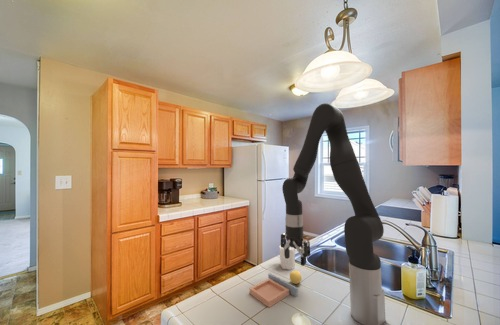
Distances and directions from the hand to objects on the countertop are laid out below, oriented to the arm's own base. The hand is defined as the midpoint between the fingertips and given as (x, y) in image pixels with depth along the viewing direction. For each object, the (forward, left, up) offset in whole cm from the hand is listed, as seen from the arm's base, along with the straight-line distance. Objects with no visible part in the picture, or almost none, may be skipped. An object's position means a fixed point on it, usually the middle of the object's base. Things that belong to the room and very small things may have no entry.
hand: (294, 261), depth 89 cm
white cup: (+12, -9, -9) cm, 17 cm away
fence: (+1, +7, -9) cm, 12 cm away
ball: (0, 0, -6) cm, 6 cm away
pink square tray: (+2, +14, -9) cm, 17 cm away
